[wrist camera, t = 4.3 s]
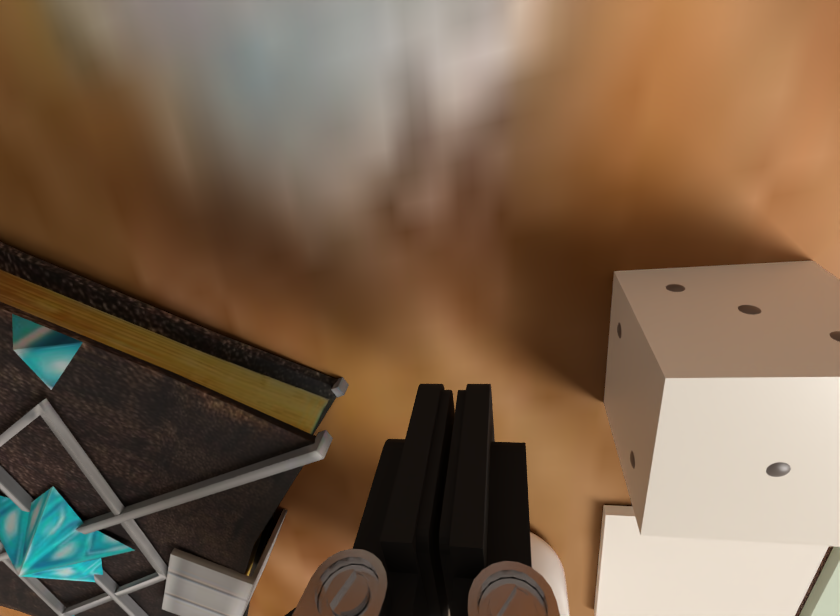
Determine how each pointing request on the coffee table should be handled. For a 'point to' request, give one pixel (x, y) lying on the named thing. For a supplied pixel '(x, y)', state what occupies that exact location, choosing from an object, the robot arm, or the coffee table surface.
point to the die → (728, 400)
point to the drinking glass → (549, 571)
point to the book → (139, 451)
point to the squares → (708, 575)
